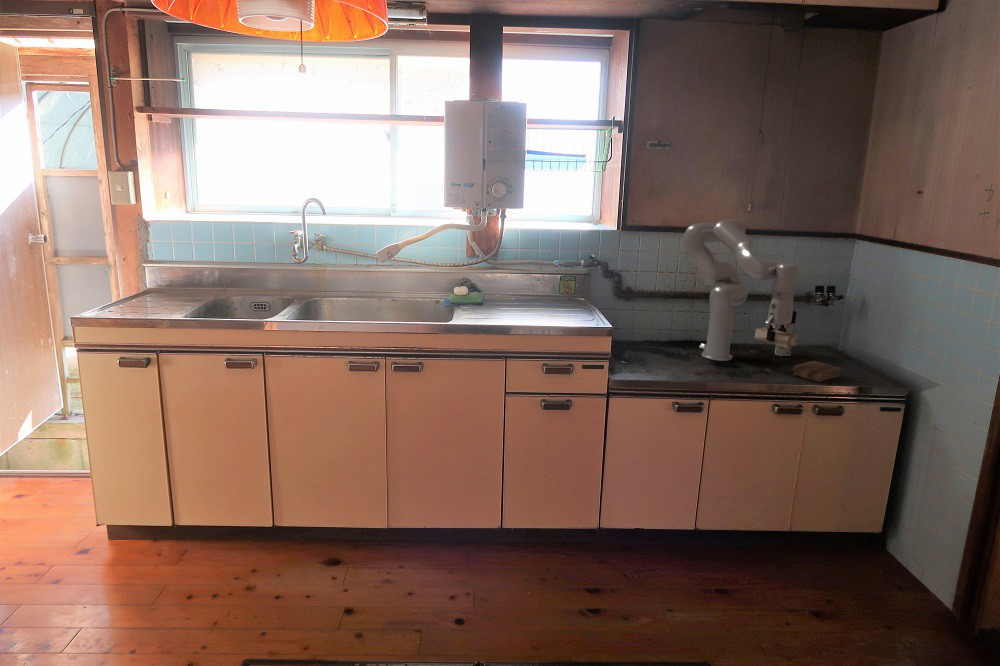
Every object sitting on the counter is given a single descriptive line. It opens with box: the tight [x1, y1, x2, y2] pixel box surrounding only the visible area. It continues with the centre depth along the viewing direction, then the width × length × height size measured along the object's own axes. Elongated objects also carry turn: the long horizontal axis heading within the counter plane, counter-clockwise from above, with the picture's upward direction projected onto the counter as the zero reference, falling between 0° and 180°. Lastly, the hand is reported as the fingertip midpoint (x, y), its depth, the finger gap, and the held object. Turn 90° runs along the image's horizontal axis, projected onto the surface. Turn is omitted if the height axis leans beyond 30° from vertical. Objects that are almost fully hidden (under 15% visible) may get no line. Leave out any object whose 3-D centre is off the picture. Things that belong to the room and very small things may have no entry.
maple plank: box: [754, 326, 798, 347], centre depth 257 cm, size 6×14×4 cm, turn 35°
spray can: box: [774, 310, 797, 357], centre depth 286 cm, size 7×7×20 cm
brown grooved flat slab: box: [791, 360, 842, 382], centre depth 258 cm, size 12×14×4 cm
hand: (775, 339), depth 258 cm, fingers closed on maple plank, 6 cm apart
